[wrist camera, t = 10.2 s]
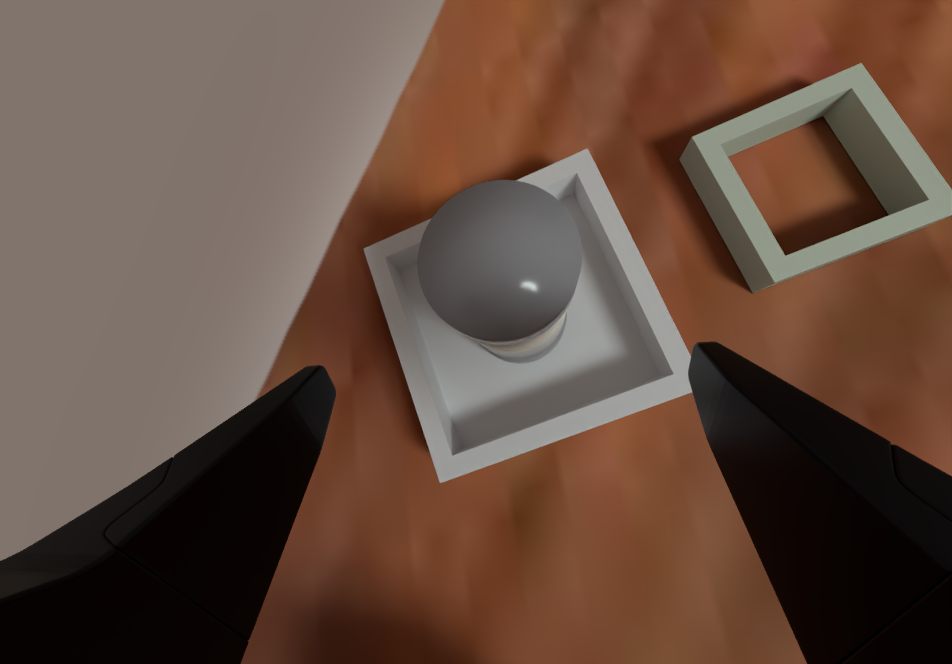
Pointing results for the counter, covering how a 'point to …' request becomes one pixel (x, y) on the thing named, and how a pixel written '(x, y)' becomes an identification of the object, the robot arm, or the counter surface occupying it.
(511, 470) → the counter surface
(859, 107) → the holder ring
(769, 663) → the counter surface
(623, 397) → the parts tray
